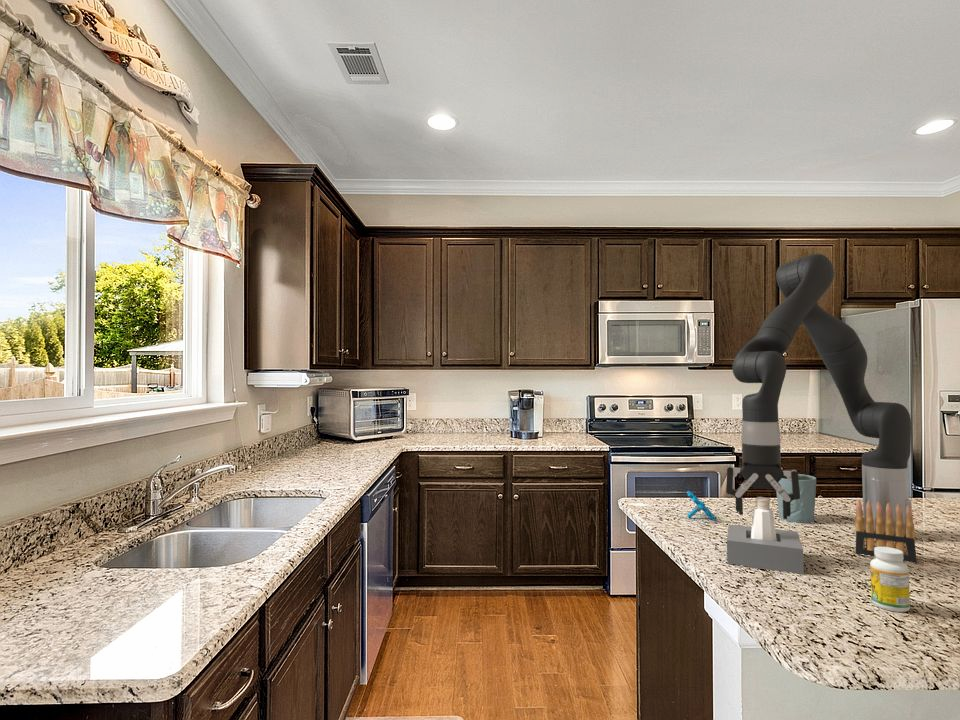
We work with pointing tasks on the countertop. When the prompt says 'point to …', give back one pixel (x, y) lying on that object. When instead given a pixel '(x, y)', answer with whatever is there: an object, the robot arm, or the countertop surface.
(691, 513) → the blue t-shaped piece
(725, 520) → the countertop surface
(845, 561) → the countertop surface
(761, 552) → the frame
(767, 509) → the pepper shaker
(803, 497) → the blue cup
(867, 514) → the ammunition clip
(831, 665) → the countertop surface
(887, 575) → the supplement bottle
